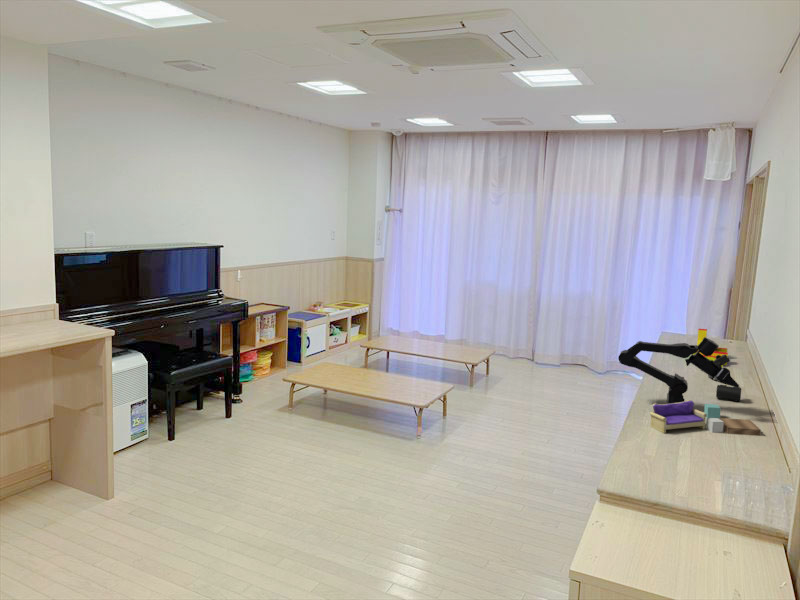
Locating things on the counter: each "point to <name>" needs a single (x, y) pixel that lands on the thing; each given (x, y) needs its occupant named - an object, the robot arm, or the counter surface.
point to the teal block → (712, 411)
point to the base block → (740, 427)
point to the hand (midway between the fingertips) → (735, 385)
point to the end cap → (728, 393)
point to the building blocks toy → (718, 351)
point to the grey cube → (714, 425)
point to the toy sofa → (676, 416)
